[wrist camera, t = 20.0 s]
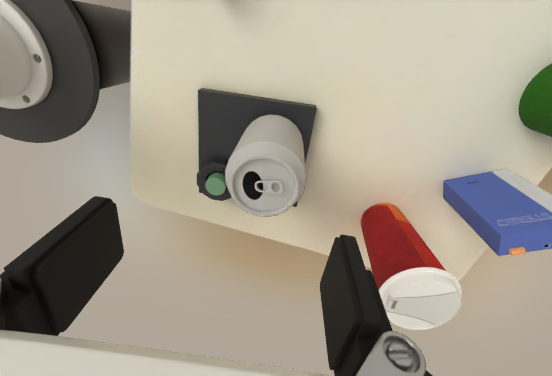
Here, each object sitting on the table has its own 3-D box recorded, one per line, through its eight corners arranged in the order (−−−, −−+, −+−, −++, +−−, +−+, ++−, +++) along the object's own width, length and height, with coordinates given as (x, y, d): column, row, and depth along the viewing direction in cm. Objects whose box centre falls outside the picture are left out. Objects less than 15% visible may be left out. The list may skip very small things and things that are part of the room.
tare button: (208, 188, 36) (205, 194, 35) (208, 171, 35) (205, 176, 33) (227, 191, 36) (225, 197, 35) (228, 173, 35) (225, 179, 33)
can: (239, 114, 32) (212, 150, 22) (301, 110, 31) (305, 145, 21) (247, 171, 36) (228, 225, 25) (304, 168, 35) (308, 222, 25)
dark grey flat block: (202, 188, 39) (195, 198, 36) (201, 88, 32) (193, 92, 30) (296, 201, 39) (296, 213, 37) (315, 105, 32) (317, 110, 30)
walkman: (442, 197, 37) (500, 258, 27) (443, 180, 36) (503, 237, 26) (505, 186, 36) (592, 246, 25) (508, 168, 35) (600, 223, 24)
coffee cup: (348, 239, 42) (372, 329, 29) (358, 194, 38) (392, 275, 25) (402, 243, 42) (451, 336, 29) (418, 198, 38) (484, 282, 25)
